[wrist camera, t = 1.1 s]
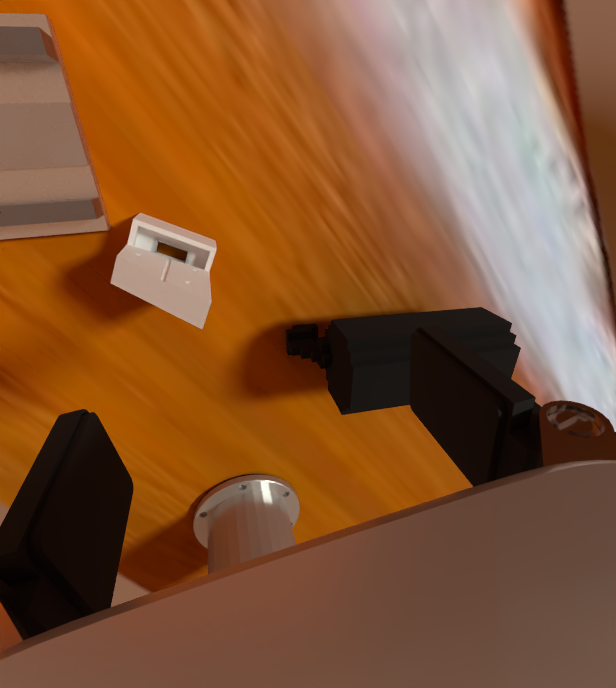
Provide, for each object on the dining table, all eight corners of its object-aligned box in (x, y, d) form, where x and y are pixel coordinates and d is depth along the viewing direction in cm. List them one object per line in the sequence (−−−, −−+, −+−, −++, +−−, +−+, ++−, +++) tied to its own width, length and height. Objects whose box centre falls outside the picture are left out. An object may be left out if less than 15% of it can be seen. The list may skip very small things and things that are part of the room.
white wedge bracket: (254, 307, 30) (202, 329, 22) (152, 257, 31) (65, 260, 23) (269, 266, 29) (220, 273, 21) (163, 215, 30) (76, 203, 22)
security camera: (284, 303, 33) (313, 353, 25) (458, 291, 38) (534, 329, 29) (285, 368, 37) (311, 432, 28) (445, 349, 41) (510, 400, 32)
